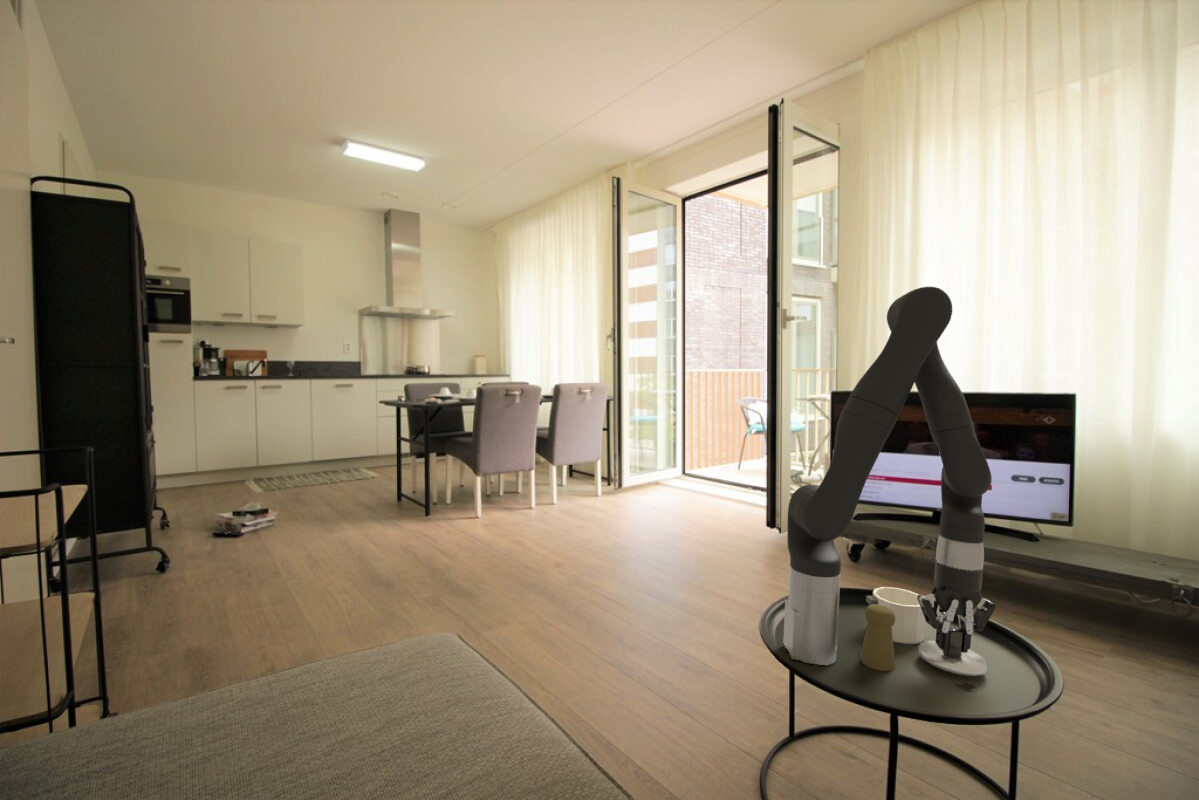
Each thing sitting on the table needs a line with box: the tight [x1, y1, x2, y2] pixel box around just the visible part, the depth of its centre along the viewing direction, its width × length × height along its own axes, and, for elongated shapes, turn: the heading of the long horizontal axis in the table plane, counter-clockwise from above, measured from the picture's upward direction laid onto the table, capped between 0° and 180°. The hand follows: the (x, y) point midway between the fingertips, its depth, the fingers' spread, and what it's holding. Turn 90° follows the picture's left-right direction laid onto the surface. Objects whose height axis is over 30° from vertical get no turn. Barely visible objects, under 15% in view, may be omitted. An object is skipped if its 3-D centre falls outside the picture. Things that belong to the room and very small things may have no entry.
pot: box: [865, 586, 934, 645], centre depth 119 cm, size 13×10×8 cm
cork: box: [859, 604, 896, 672], centre depth 107 cm, size 6×6×11 cm
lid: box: [918, 625, 988, 677], centre depth 106 cm, size 11×11×6 cm
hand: (952, 649), depth 106 cm, fingers closed on lid, 3 cm apart
